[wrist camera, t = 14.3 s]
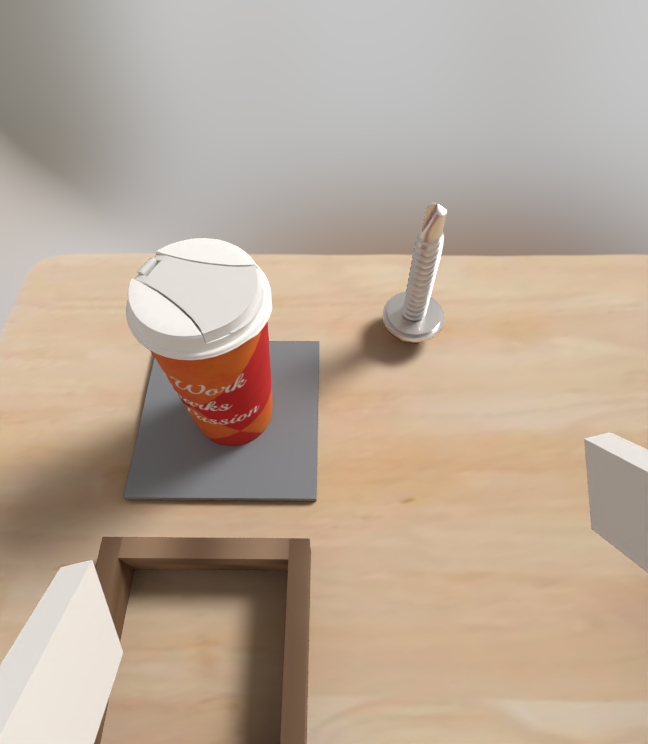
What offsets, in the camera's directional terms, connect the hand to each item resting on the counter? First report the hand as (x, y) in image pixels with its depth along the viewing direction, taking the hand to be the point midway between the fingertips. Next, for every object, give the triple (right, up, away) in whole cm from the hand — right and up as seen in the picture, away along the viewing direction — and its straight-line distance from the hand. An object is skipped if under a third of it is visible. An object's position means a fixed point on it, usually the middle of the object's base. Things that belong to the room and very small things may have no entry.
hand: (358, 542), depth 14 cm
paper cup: (-7, +1, +25) cm, 26 cm away
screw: (+6, +8, +30) cm, 31 cm away
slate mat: (-8, +1, +25) cm, 27 cm away
